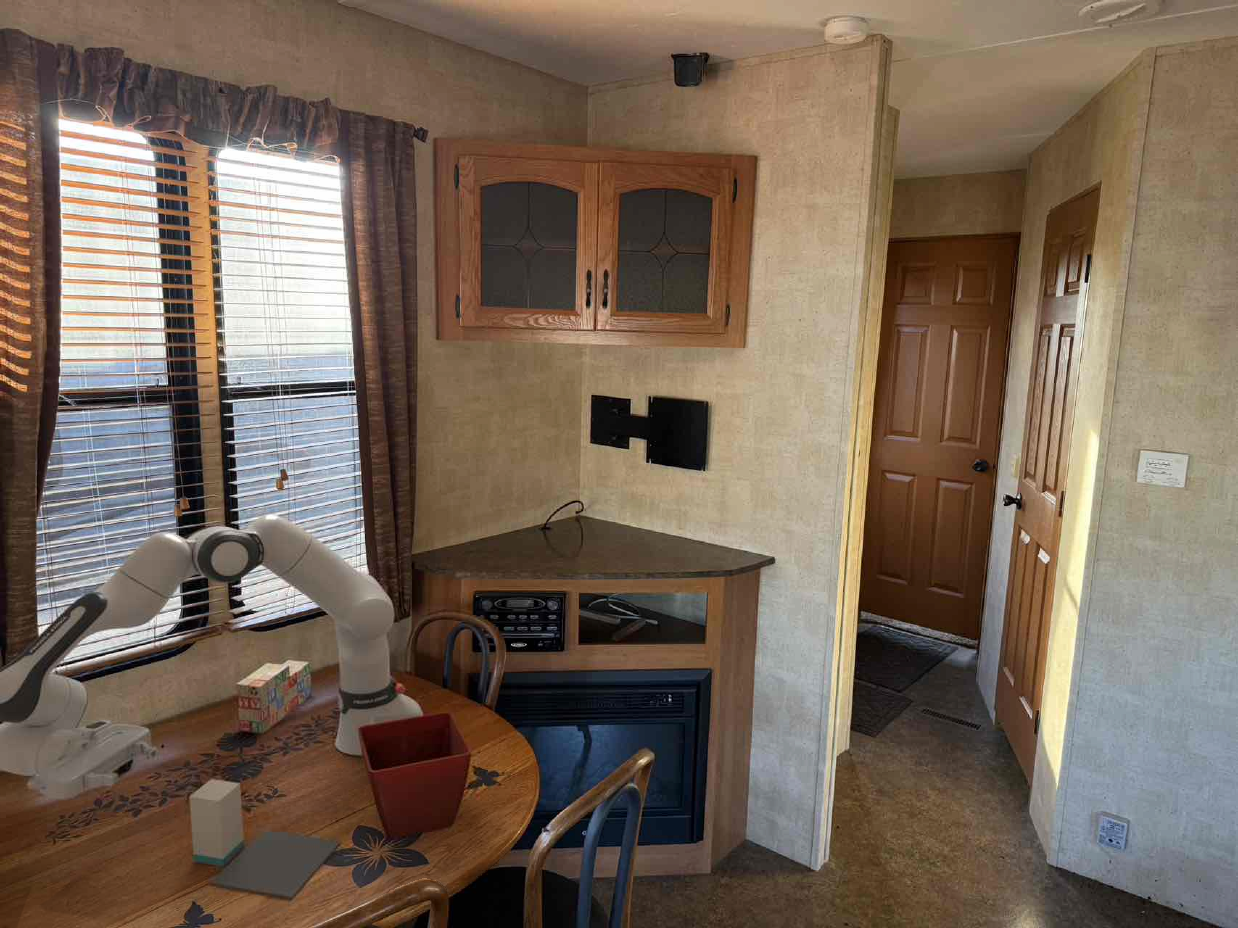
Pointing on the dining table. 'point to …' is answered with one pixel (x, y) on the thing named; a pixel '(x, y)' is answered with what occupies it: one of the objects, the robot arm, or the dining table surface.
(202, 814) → the cream block
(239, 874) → the mat
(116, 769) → the tape measure
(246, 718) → the stack of blocks
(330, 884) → the dining table surface
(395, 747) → the plant pot
